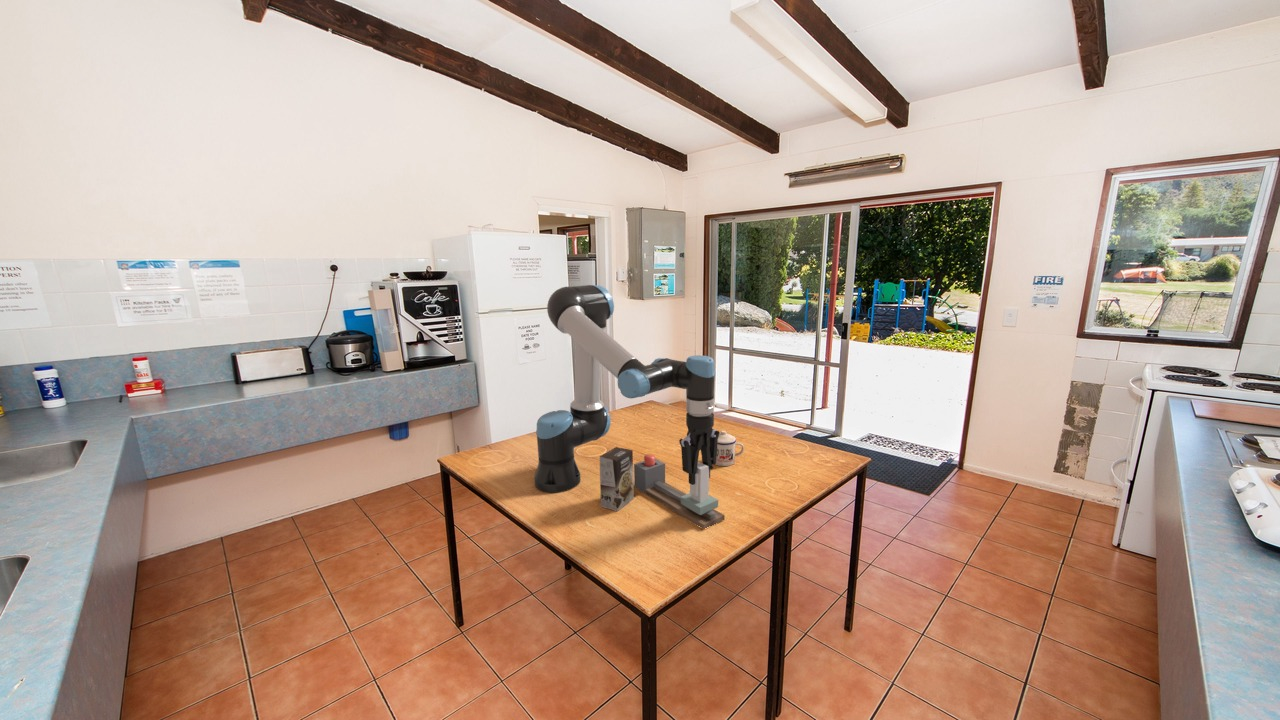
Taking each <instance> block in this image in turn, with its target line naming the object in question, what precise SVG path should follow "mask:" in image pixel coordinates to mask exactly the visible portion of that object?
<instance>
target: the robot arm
mask: <svg viewBox="0 0 1280 720" xmlns="http://www.w3.org/2000/svg"><path fill="white" fill-rule="evenodd" d="M546 305H547V306H546V307H547V308H546V311H547V316H548V318H549V321H550V322H551V324H552V325H554V327H555V328H556V329H557V330H558V331H559V332H561V333H562V334H568V335H569V336H570V337H571V338H572V340H574V341H575V343H574V346H575V349H574V350H575V351H574V359H575V362H574V363H575V364H574V400H572V401H571V402H570V405H569V406H570V411H569V410H565V409H564V410H563V409H560V410H559V409H558V410H552V411H548V412H546V413H544V414H543V415H541V416H540V417H539V418H538V419H537V422H536V431H535V434H536V440H537V457H538V464H537V467H536V470H535V474H534V486H535V488H536V489H537V490H539V491H542V492H545V493H561V492H566V491H569V490H572V489H574V488H575V487H577V486H579V484H580V483H581V472H580V470H579V467H578V465H577V463H576V460H575V451H574V450H575V448H576V447H580V446H583V445H585V444H587V443H590V442H593V441H597V440H599V439H600V438H602V437H604V436H605V435H607V434H608V432H609V430H610V428H611V425H612V424H611V423H612V422H611V419H612V418H611V414H610V413H609V409H608V408H607V407H606V406H605V403H604V401H602V400H601V371H602V369H601V367H604V368H605V369H606V370H607V371H608V372H609V373H611V375H613V376H614V377H615V378H616V379H617V387H618V389H619V391H620V393H621V395H622V396H623V397H625V398H627V399H636V398H643V397H645V396H646V395H649V394H653V393H655V392H656V393H657V392H660V391H662V390H666V389H670V388H678V389H683V390H686V392H685V396H686V400H685V401H686V406H685V407H686V408H685V411H686V418H685V421H686V422H685V424H686V428H687V433H686V436H685V437H684V438H680V439H679V440H678V441H679V445H680V448H681V449H680V450H681V464H682V465H681V466H682V471H683V472H684V473H686V474H687V475H688V484H689V493H692V494H694V495H696V496H698V495H699V473H697V464H698V462H699V455H701V461H702V462H701V463H702V464H705V465H707V466H709V473H708V492H709V491H710V479H711V471H713V470H714V466H715V464H716V458H717V443H718V437H719V434H720V433H721V431H719V430H717V429H713V427H714V425H715V414H714V413H713V412H714V411H715V375H716V371H715V360H714V358H713V357H711V356H708V355H699V354H698V355H690V356H688V357H687V358H686V359H685V360H686V361H682V360H676V359H671V358H666V357H665V358H664V357H663V358H662V357H658V358H655V359H654V360H653V361H652V362H651V363H650V364H647V365H645V364H643V363H642V362H641V361H640V360H638V359H637V358H636V357H635V356H633V354H632V353H630V352H629V351H628V350H627V349H626V348H624V346H622V345H621V344H620V343H618V341H616V339H614V338H613V337H612V336H610V335H609V334H608V333H607V332H606V331H605V329H606V328H607V321H608V320H609V319H610V318H611V317H612V315H614V314H613V313H614V311H615V303H614V299H613V297H612V294H611V293H610V292H609V290H608V289H607V288H606V287H604V286H601V285H599V284H598V285H597V284H596V285H595V284H594V285H593V284H586V285H585V284H584V285H575V286H574V285H573V286H563V287H560V288H559V289H556V290H555V291H554V292H553V293H552V294H551V295H550V296H549V298H548V301H547V304H546ZM711 458H712V459H711Z"/></svg>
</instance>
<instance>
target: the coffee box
mask: <svg viewBox="0 0 1280 720" xmlns="http://www.w3.org/2000/svg"><path fill="white" fill-rule="evenodd" d="M633 454H634V452H633V449H628V448H623V447H618V446H616V447H614V448H612V449H611V450H608V451H606V452H605V453H603V454H602V455H599V480H600V481H599V484H600V489H599V490H600V506H601V507H602V508H606V509H609V510H611V511H615V512H618V511H620V510H621V509H622V508H624V507H625V506H626V505H628V504H629V503H630V502H632V501H633V500H634V460H633V459H634V458H633V457H634V455H633Z"/></svg>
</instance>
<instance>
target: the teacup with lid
mask: <svg viewBox="0 0 1280 720" xmlns="http://www.w3.org/2000/svg"><path fill="white" fill-rule="evenodd" d="M736 446H740V447H741V450H740V451H739V452H738V453H737V452H736ZM744 451H745V447H744V444H743V443H741V442H737V438H736V437H735V436H734V435H732V434H729V433H727V431H726V430H720V434H719V437H718V443H717V458H716V464H715V465H716V466H720V467H728V466H729V467H730V466H733V465H734V464H735V462H736V457H740V456H742V454H743V453H744ZM711 459H712V458H711ZM715 465H714V466H715Z"/></svg>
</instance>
